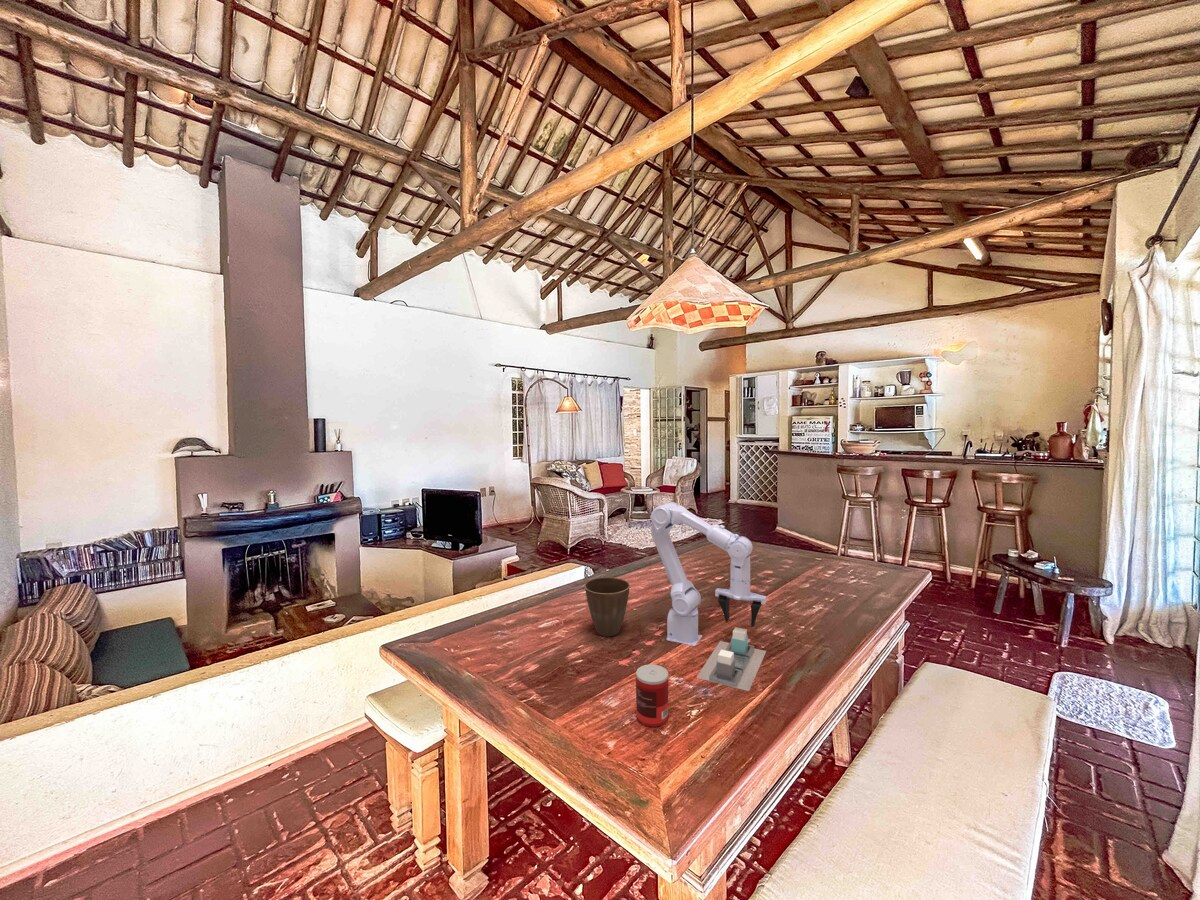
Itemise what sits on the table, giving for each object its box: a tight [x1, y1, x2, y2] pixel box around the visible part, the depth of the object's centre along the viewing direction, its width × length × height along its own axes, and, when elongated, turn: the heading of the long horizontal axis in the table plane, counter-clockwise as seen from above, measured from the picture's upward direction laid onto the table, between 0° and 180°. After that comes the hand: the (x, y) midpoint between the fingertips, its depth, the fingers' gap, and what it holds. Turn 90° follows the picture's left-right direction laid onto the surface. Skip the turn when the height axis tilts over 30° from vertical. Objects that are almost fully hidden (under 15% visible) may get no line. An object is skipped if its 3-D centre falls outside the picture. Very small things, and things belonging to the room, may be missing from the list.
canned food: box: [635, 664, 669, 728], centre depth 113 cm, size 8×8×11 cm
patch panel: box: [696, 640, 767, 692], centre depth 137 cm, size 14×24×2 cm, turn 151°
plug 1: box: [717, 650, 735, 680], centre depth 130 cm, size 4×4×6 cm
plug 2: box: [730, 627, 749, 654], centre depth 144 cm, size 4×4×6 cm
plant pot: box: [584, 577, 631, 637], centre depth 159 cm, size 15×15×16 cm
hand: (740, 623), depth 143 cm, fingers open, 7 cm apart
